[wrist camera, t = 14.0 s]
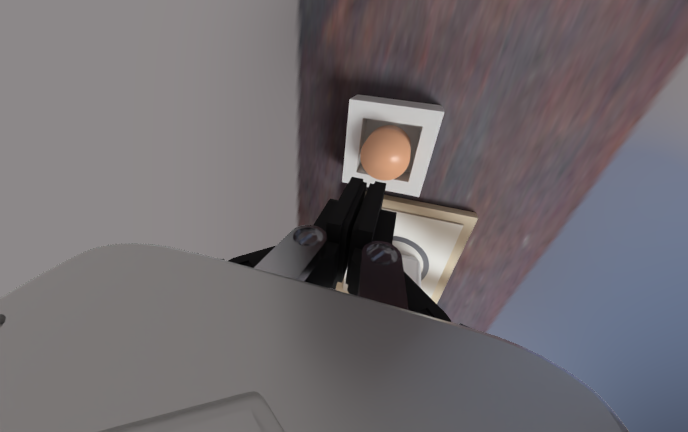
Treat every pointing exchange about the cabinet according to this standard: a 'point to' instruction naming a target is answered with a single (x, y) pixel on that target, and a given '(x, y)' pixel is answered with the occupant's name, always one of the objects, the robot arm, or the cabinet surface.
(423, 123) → the button housing
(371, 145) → the button
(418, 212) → the cream flat rectangular panel
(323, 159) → the cabinet surface
